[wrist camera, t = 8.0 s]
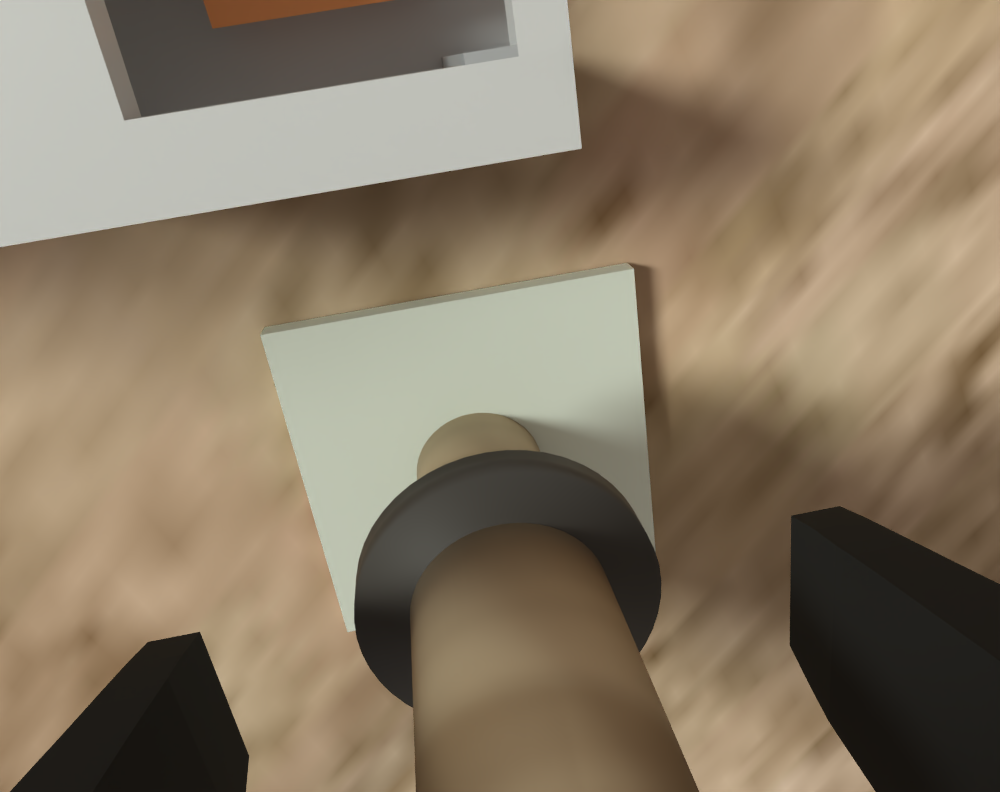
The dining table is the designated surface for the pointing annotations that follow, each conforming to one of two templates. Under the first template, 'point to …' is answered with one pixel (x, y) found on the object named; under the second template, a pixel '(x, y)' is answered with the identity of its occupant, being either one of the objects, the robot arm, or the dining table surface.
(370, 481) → the rest pad
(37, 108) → the box
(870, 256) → the dining table surface
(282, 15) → the plate
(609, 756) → the stylus
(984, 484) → the dining table surface
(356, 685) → the dining table surface
